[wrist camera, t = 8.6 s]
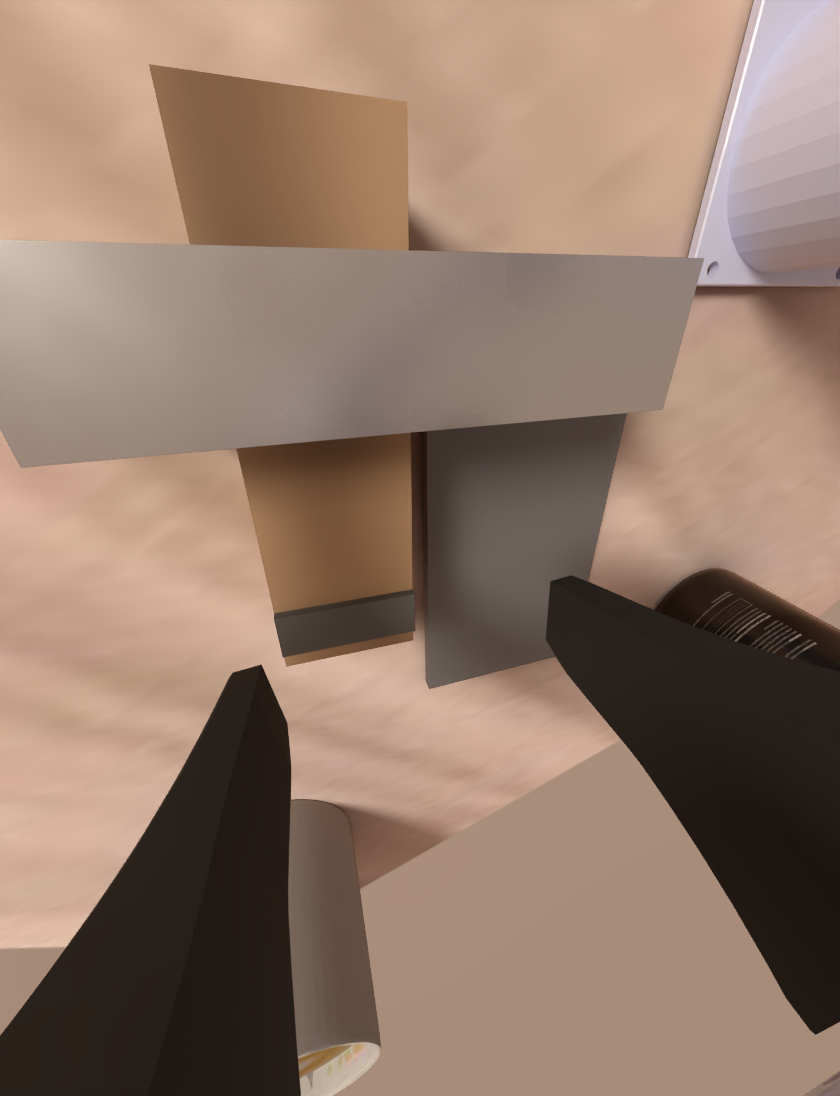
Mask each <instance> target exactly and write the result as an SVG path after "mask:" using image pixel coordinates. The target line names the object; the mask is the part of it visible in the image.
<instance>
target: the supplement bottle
mask: <svg viewBox="0 0 840 1096" xmlns="http://www.w3.org/2000/svg"><path fill="white" fill-rule="evenodd" d="M656 611H657V612H660V613H662V614H664V615H667V616H669V617H672V618H674V619H677V620H679V621H682V622H684V623H687V624H690V625H692V626H695V627H698V628H700V629H703V630H706V631H708V632H711V633H714V634H716V635H719V636H722V637H724V638H727V639H730V640H733V641H736V642H739V643H742V644H745V645H748V646H752V647H755V648H758V649H761V650H764V651H767V652H771V653H774V654H777V655H780V656H783V657H787V658H790V659H794V660H797V661H801V662H804V663H808V664H812V665H816V666H819V667H823V668H827V669H831V670H835V671H839V672H840V630H838V629H837V628H835V627H833V626H831V625H829V624H828V623H826V622H824V621H822V620H820V619H818V618H817V617H815V616H813V615H811V614H809V613H807V612H805V611H804V610H802V609H800V608H798V607H796V606H794V605H793V604H791V603H789V602H787V601H785V600H783V599H782V598H780V597H778V596H776V595H774V594H772V593H770V592H769V591H767V590H765V589H763V588H761V587H759V586H758V585H756V584H754V583H752V582H750V581H748V580H746V579H744V578H743V577H741V576H739V575H737V574H735V573H733V572H731V571H728V570H724V569H710V570H706V571H702V572H699V573H697V574H695V575H693V576H691V577H689V578H687V579H686V580H684V581H683V582H682V583H680V584H679V585H678V586H677V587H675V588H674V589H673V590H672V591H671V592H670V593H669V594H668V595H667V596H666V598H665V599H664V600H663V601H662V603H661V604H660V606H659V607H658V609H657V610H656Z"/></svg>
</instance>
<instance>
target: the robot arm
mask: <svg viewBox="0 0 840 1096" xmlns="http://www.w3.org/2000/svg"><path fill="white" fill-rule="evenodd" d="M688 258H704V261H703V265H702V269H701V272H700V276H699V279H698V283H697V286H770V287H840V0H754V2H753V6H752V10H751V14H750V18H749V22H748V25H747V29H746V33H745V37H744V41H743V45H742V49H741V53H740V57H739V60H738V64H737V68H736V72H735V76H734V80H733V84H732V88H731V91H730V95H729V99H728V103H727V107H726V111H725V115H724V119H723V123H722V126H721V130H720V134H719V138H718V142H717V146H716V150H715V154H714V157H713V161H712V165H711V169H710V173H709V177H708V181H707V185H706V189H705V192H704V196H703V200H702V204H701V208H700V212H699V216H698V220H697V224H696V227H695V231H694V235H693V239H692V243H691V247H690V251H689V255H688ZM708 268H709V272H708V275H707V270H708ZM546 641H547V643H548V645H549V646H550V648H551V649H552V651H553V653H554V654H555V656H556V658H557V659H558V661H559V662H560V664H561V665H562V667H563V668H564V670H565V671H566V673H567V674H568V675H569V677H570V678H571V679H572V680H573V682H574V683H575V684H576V685H577V687H578V688H579V689H580V690H581V692H582V693H583V694H584V695H585V696H586V698H587V699H588V700H589V701H590V702H591V704H592V705H593V706H594V707H595V708H596V710H597V711H598V712H599V713H600V714H601V716H602V717H603V718H604V719H605V720H606V722H607V723H608V724H609V725H610V726H611V728H612V729H613V730H614V731H615V732H616V734H617V735H618V736H619V737H620V738H621V740H622V741H623V742H624V743H625V744H626V746H627V747H628V748H629V749H630V751H631V752H632V753H633V755H634V756H635V757H636V758H637V760H638V761H639V762H640V764H641V765H642V766H643V768H644V769H645V771H646V772H647V773H648V775H649V776H650V778H651V779H652V781H653V782H654V784H655V785H656V786H657V788H658V789H659V791H660V792H661V794H662V795H663V797H664V798H665V800H666V801H667V802H668V804H669V805H670V807H671V808H672V810H673V811H674V813H675V814H676V816H677V817H678V819H679V820H680V822H681V823H682V825H683V827H684V828H685V830H686V831H687V833H688V834H689V836H690V837H691V838H692V840H693V842H694V843H695V845H696V846H697V848H698V849H699V851H700V853H701V854H702V856H703V857H704V859H705V861H706V862H707V864H708V865H709V867H710V869H711V870H712V872H713V874H714V875H715V877H716V878H717V880H718V881H719V883H720V885H721V886H722V888H723V890H724V891H725V893H726V895H727V896H728V898H729V899H730V901H731V903H732V904H733V906H734V908H735V909H736V911H737V913H738V915H739V916H740V918H741V920H742V921H743V923H744V925H745V927H746V928H747V930H748V932H749V933H750V935H751V937H752V938H753V940H754V942H755V944H756V946H757V947H758V949H759V951H760V952H761V954H762V956H763V957H764V959H765V961H766V963H767V964H768V966H769V968H770V970H771V972H772V973H773V975H774V977H775V979H776V981H777V983H778V984H779V986H780V988H781V990H782V992H783V993H784V995H785V997H786V999H787V1000H788V1001H789V1003H790V1004H791V1005H792V1007H793V1008H794V1009H795V1011H796V1012H797V1013H798V1014H799V1015H800V1017H801V1018H802V1020H803V1021H804V1022H805V1024H806V1025H807V1027H808V1028H809V1029H810V1030H811V1031H812V1032H813V1033H814V1034H818V1033H820V1032H822V1031H824V1030H825V1029H827V1028H829V1027H831V1026H833V1025H835V1024H836V1023H838V1022H840V672H839V671H835V670H831V669H827V668H823V667H819V666H816V665H812V664H808V663H804V662H801V661H797V660H794V659H790V658H787V657H783V656H780V655H777V654H774V653H771V652H767V651H764V650H761V649H758V648H755V647H752V646H748V645H745V644H742V643H739V642H736V641H733V640H730V639H727V638H724V637H722V636H719V635H716V634H714V633H711V632H708V631H706V630H703V629H700V628H698V627H695V626H692V625H690V624H687V623H684V622H682V621H679V620H677V619H674V618H672V617H669V616H667V615H664V614H662V613H660V612H657V611H655V610H652V609H650V608H648V607H645V606H643V605H641V604H638V603H636V602H634V601H631V600H629V599H627V598H625V597H622V596H620V595H618V594H615V593H613V592H611V591H608V590H606V589H604V588H602V587H599V586H597V585H595V584H592V583H590V582H587V581H585V580H582V579H580V578H577V577H575V576H572V575H570V576H566V577H563V578H559V579H556V580H553V581H550V590H549V603H548V616H547V628H546ZM290 806H291V759H290V746H289V736H288V726H287V721H286V719H285V717H284V715H283V712H282V710H281V708H280V706H279V703H278V701H277V699H276V697H275V694H274V692H273V690H272V688H271V685H270V683H269V681H268V679H267V676H266V674H265V672H264V670H263V667H262V665H258V666H255V667H252V668H248V669H245V670H241V671H238V672H234V673H232V675H231V676H230V677H229V679H228V681H227V683H226V685H225V687H224V689H223V691H222V693H221V695H220V697H219V699H218V701H217V703H216V705H215V707H214V709H213V711H212V713H211V715H210V717H209V719H208V721H207V723H206V725H205V727H204V729H203V731H202V733H201V735H200V737H199V738H198V740H197V742H196V744H195V746H194V748H193V749H192V751H191V753H190V755H189V757H188V759H187V761H186V762H185V764H184V766H183V768H182V770H181V772H180V773H179V775H178V777H177V779H176V780H175V782H174V784H173V786H172V787H171V789H170V791H169V792H168V794H167V796H166V797H165V799H164V801H163V802H162V804H161V806H160V807H159V809H158V811H157V812H156V814H155V816H154V817H153V819H152V821H151V822H150V824H149V826H148V827H147V829H146V831H145V832H144V834H143V835H142V837H141V839H140V840H139V842H138V843H137V845H136V846H135V848H134V850H133V851H132V853H131V854H130V856H129V857H128V859H127V860H126V862H125V863H124V865H123V867H122V868H121V870H120V871H119V873H118V874H117V876H116V877H115V879H114V880H113V882H112V883H111V884H110V886H109V887H108V889H107V890H106V892H105V893H104V895H103V896H102V898H101V899H100V901H99V902H98V904H97V905H96V907H95V908H94V909H93V911H92V912H91V914H90V915H89V917H88V918H87V919H86V921H85V922H84V923H83V925H82V926H81V928H80V929H79V930H78V932H77V933H76V935H75V936H74V937H73V939H72V940H71V941H70V943H69V944H68V946H67V947H66V948H65V950H64V951H63V953H62V954H61V956H60V957H59V958H58V960H57V961H56V962H55V964H54V965H53V966H52V968H51V969H50V971H49V972H48V973H47V975H46V976H45V978H44V979H43V980H42V981H41V983H40V984H39V985H38V987H37V988H36V989H35V991H34V992H33V994H32V995H31V996H30V997H29V999H28V1000H27V1002H26V1003H25V1004H24V1005H23V1007H22V1008H21V1010H20V1011H19V1012H18V1013H17V1015H16V1016H15V1017H14V1019H13V1020H12V1021H11V1023H10V1024H9V1025H8V1026H7V1028H6V1029H5V1030H4V1032H3V1033H2V1034H1V1035H0V1096H301V1088H300V1076H299V1064H298V1052H297V1039H296V1024H295V1010H294V995H293V981H292V965H291V947H290V929H289V903H288V879H289V842H290ZM803 1096H840V1071H839V1072H837V1073H836V1074H834V1075H833V1076H831V1077H830V1078H828V1079H827V1080H825V1081H824V1082H822V1083H821V1084H820V1085H818V1086H817V1087H815V1088H814V1089H812V1090H811V1091H809V1092H808V1093H806V1094H805V1095H803Z"/></svg>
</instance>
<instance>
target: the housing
mask: <svg viewBox="0 0 840 1096" xmlns="http://www.w3.org/2000/svg"><path fill="white" fill-rule="evenodd" d="M703 261H704V258H683V257H645V256H606V255H568V254H530V253H492V252H453V251H415V250H377V249H338V248H300V247H262V246H224V245H185V244H147V243H109V242H71V241H32V240H0V430H1V432H2V434H3V435H4V437H5V439H6V441H7V443H8V445H9V447H10V449H11V450H12V452H13V454H14V456H15V458H16V460H17V462H18V464H19V465H20V467H21V468H26V467H37V466H48V465H59V464H70V463H81V462H92V461H103V460H114V459H125V458H136V457H147V456H158V455H169V454H180V453H191V452H202V451H213V450H224V449H235V448H246V447H257V446H268V445H279V444H290V443H301V442H312V441H323V440H334V439H345V438H356V437H367V436H378V435H389V434H400V433H411V432H422V431H433V430H444V429H456V428H467V427H478V426H489V425H500V424H511V423H522V422H533V421H544V420H555V419H566V418H577V417H588V416H599V415H610V414H621V413H632V412H643V411H654V410H663V407H664V403H665V400H666V396H667V392H668V389H669V385H670V381H671V378H672V374H673V371H674V367H675V363H676V360H677V356H678V352H679V349H680V345H681V341H682V338H683V334H684V330H685V327H686V323H687V320H688V316H689V312H690V309H691V305H692V301H693V298H694V294H695V290H696V287H697V283H698V279H699V276H700V272H701V269H702V265H703Z"/></svg>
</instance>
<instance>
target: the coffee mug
mask: <svg viewBox="0 0 840 1096" xmlns="http://www.w3.org/2000/svg"><path fill="white" fill-rule="evenodd" d="M288 903H289V929H290V947H291V965H292V981H293V995H294V1010H295V1024H296V1039H297V1052H298V1064H299V1076H300V1088H301V1096H333V1095H334V1094H336V1093H338V1092H339V1091H341V1090H342V1089H344V1088H345V1087H347V1086H348V1085H350V1084H351V1083H352V1082H354V1081H355V1080H356V1079H358V1078H359V1077H360V1076H361V1075H363V1074H364V1073H365V1072H366V1071H367V1070H368V1069H369V1068H370V1067H371V1066H372V1065H373V1064H374V1063H375V1062H376V1060H377V1059H378V1057H379V1055H380V1052H381V1044H380V1033H379V1026H378V1019H377V1012H376V1004H375V997H374V990H373V982H372V975H371V968H370V961H369V953H368V946H367V939H366V931H365V925H364V917H363V910H362V902H361V895H360V888H359V880H358V873H357V866H356V859H355V851H354V844H353V837H352V830H351V823H350V820H349V818H348V816H347V815H346V814H345V813H344V812H343V811H342V810H341V809H339V808H338V807H336V806H334V805H331V804H328V803H326V802H321V801H314V800H291V806H290V842H289V879H288Z"/></svg>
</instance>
